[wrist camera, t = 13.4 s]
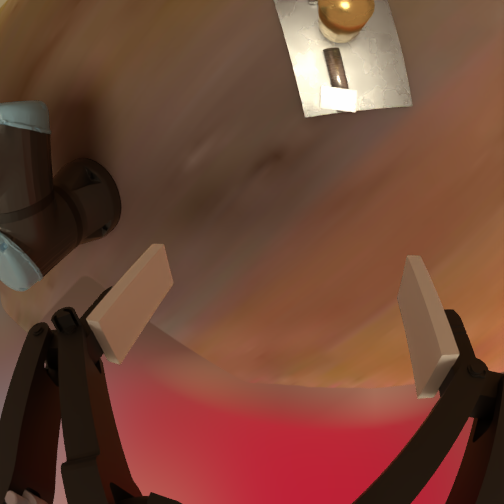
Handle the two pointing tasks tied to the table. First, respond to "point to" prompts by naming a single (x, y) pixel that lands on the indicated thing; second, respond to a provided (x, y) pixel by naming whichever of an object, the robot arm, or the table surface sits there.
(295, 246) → the table surface
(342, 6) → the orange glossy cylinder
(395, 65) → the bed plate
